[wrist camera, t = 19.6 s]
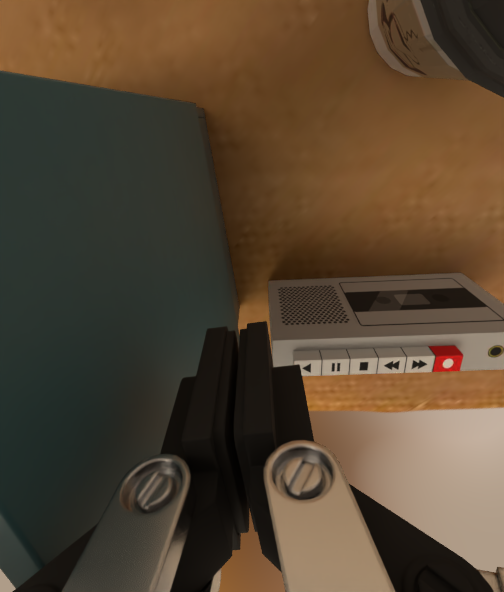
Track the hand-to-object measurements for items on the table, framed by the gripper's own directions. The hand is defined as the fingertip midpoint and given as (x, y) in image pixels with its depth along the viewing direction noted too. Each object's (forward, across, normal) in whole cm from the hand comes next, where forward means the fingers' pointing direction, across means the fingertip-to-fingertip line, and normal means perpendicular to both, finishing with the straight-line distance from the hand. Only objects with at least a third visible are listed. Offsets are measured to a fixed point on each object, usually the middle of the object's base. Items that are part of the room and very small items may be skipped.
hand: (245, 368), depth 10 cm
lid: (+4, +3, 0) cm, 5 cm away
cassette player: (+19, -8, +8) cm, 22 cm away
